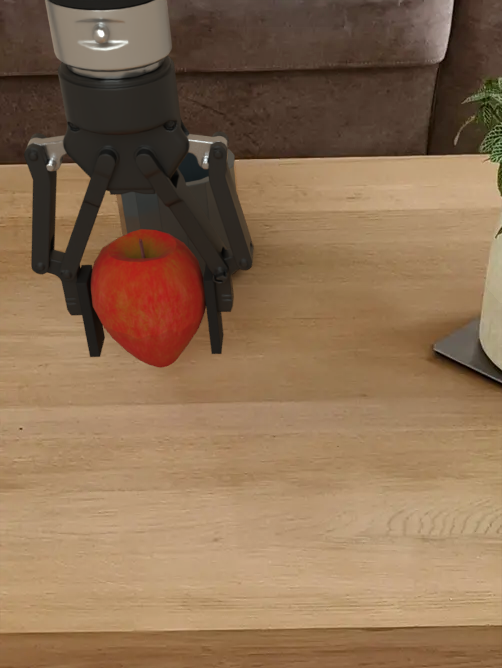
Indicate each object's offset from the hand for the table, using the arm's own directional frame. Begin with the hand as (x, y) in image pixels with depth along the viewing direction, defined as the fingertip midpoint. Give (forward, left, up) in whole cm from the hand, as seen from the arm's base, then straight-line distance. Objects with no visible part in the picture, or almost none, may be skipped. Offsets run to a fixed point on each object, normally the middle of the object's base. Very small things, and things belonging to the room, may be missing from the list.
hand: (157, 345), depth 91 cm
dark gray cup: (-8, +19, -4) cm, 21 cm away
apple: (0, 0, -2) cm, 2 cm away
